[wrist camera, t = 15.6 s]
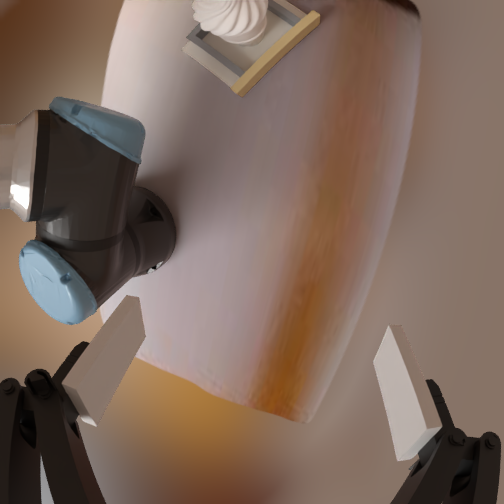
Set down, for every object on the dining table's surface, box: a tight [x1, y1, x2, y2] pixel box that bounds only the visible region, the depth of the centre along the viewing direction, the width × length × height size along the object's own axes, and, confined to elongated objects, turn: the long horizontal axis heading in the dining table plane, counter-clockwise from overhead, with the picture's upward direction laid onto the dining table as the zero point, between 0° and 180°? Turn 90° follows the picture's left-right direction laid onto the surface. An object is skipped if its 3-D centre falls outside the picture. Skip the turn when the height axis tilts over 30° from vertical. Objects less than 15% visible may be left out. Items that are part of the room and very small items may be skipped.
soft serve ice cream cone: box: [192, 0, 268, 47], centre depth 26 cm, size 8×8×16 cm
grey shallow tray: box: [181, 0, 320, 97], centre depth 32 cm, size 13×16×4 cm
